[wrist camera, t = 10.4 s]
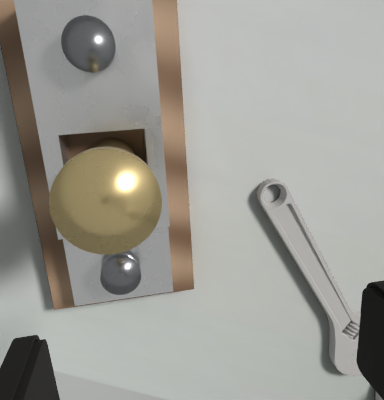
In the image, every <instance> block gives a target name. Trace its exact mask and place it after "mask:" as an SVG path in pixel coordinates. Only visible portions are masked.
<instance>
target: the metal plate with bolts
mask: <svg viewBox="0 0 384 400" xmlns="http://www.w3.org/2000/svg"><path fill="white" fill-rule="evenodd" d="M14 5H15V10H16V15H17V21H18V26H19V32H20V37H21V42H22V48H23V53H24V59H25V64H26V69H27V75H28V80H29V85H30V91H31V96H32V102H33V107H34V112H35V118H36V123H37V129H38V134H39V139H40V145H41V150H42V155H43V161H44V166H45V172H46V177H47V182H48V188H49V193H50V190H51V187H52V184H53V182H54V179H55V177H56V176H57V174H58V173H59V172H60V170H61V169H62V167H63V166H64V165H65V164H66V163H67V162H68V161H69V160H70V158H69V152H68V145H67V139H66V135H67V134H80V133H93V132H106V131H119V130H132V129H143V139H144V149H145V160H146V164H147V165H148V166H149V167H150V169H151V170H152V172H153V173H154V175H155V177H156V179H157V182H158V185H159V188H160V191H161V196H162V209H161V214H160V218H159V221H158V223H157V225H156V227H155V229H154V230H153V232H152V233H151V234H150V236H149V237H148V238H147V239H146V240H144V241H143V242H142V243H141V244H139V245H138V246H136V247H134V248H132V249H130V250H128V251H125V252H122V253H117V254H109V255H103V254H94V253H90V252H87V251H84V250H82V249H79V248H78V247H76V246H74V245H73V244H71V243H70V242H68V241H67V240H66V239H65V238H64V237H63V236H62V235H61V233H60V232H59V231H58V229H57V228H56V231H57V236H58V240H61V239H63V243H64V249H65V254H66V260H67V265H68V271H69V276H70V282H71V287H72V293H73V299H74V304H75V306H79V305H86V304H92V303H99V302H106V301H113V300H119V299H126V298H133V297H139V296H146V295H153V294H160V293H166V292H173V281H172V269H171V256H170V244H169V231H168V227H169V226H170V221H169V208H168V196H167V183H166V170H165V158H164V145H163V132H162V120H161V107H160V94H159V82H158V69H157V56H156V44H155V31H154V18H153V6H152V0H14Z"/></svg>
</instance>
